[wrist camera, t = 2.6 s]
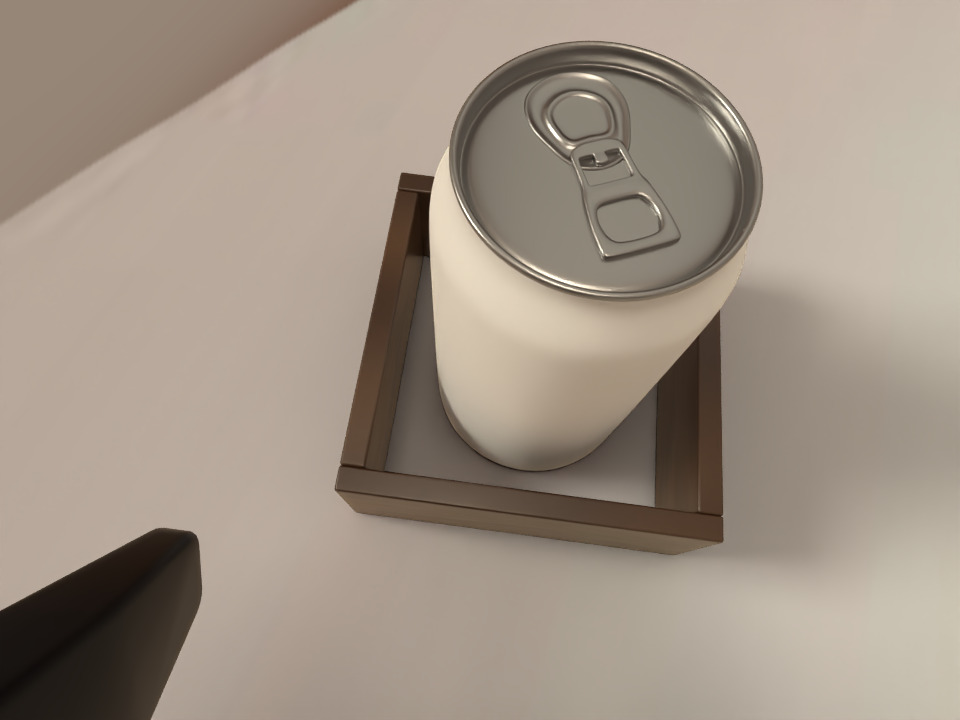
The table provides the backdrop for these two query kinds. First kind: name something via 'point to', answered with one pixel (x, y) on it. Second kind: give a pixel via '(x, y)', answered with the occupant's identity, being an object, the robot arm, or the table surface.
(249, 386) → the table surface
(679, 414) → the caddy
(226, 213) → the table surface
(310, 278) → the table surface
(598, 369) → the can
